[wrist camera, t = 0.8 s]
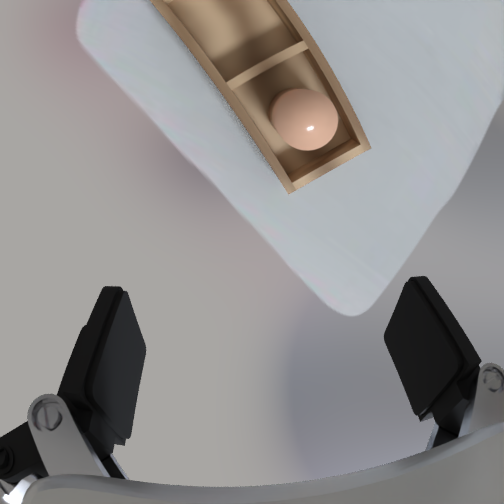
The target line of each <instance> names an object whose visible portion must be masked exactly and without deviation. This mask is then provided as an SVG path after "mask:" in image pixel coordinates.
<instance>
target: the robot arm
mask: <svg viewBox="0 0 504 504" xmlns="http://www.w3.org/2000/svg"><path fill="white" fill-rule="evenodd" d="M384 341H385V343H386V346H387V348H388V351H389V353H390V355H391V357H392V360H393V362H394V364H395V367H396V369H397V371H398V374H399V376H400V379H401V381H402V384H403V386H404V389H405V391H406V394H407V396H408V399H409V401H410V404H411V407H412V409H413V412H414V414H415V415H418V417H419V419H420V422H421V421H424V420H427V419H430V418H432V417H434V419H435V424H434V427H433V430H432V433H431V436H430V439H429V442H428V445H427V447H426V450H425V451H424V452H421V453H418V454H415V455H413V456H410V457H407V458H404V459H400V460H397V461H394V462H391V463H388V464H384V465H380V466H377V467H373V468H369V469H365V470H361V471H357V472H352V473H348V474H343V475H339V476H333V477H328V478H322V479H317V480H310V481H303V482H295V483H286V484H276V485H263V486H245V487H198V486H181V485H168V484H156V483H147V482H140V481H132V480H129V478H128V477H127V475H126V474H125V472H124V471H123V469H122V468H121V467H120V465H119V464H118V462H117V460H116V459H115V457H114V456H113V454H112V453H113V449H114V444H117V445H124V446H125V441H126V439H129V438H130V436H131V432H132V426H133V419H134V413H135V407H136V402H137V396H138V391H139V385H140V380H141V375H142V370H143V365H144V360H145V355H146V345H145V342H144V339H143V336H142V334H141V331H140V328H139V325H138V322H137V319H136V316H135V313H134V310H133V308H132V305H131V301H130V298H129V295H128V292H127V291H123V289H122V288H121V287H116V286H115V287H113V286H105V287H103V289H102V291H101V293H100V295H99V298H98V299H97V302H96V304H95V306H94V308H93V311H92V313H91V315H90V318H89V320H88V322H87V325H85V326H84V327H83V328H82V330H81V331H80V334H79V336H78V339H77V341H76V344H75V347H74V349H73V351H72V354H71V357H70V359H69V362H68V365H67V367H66V370H65V373H64V376H63V378H62V381H61V384H60V387H59V391H58V393H57V395H54V394H44V395H41V396H39V397H38V398H36V399H35V400H34V401H33V403H32V404H31V405H30V407H29V410H28V416H27V419H28V421H27V422H25V423H23V424H22V425H20V426H19V427H17V428H15V429H14V430H12V431H10V432H9V433H7V434H5V435H4V436H2V437H0V504H504V370H503V369H502V368H501V367H500V366H498V365H497V364H494V363H487V364H484V365H483V366H482V367H481V368H480V367H479V364H480V363H481V359H480V357H479V356H478V354H477V352H476V351H475V349H474V347H473V345H472V344H471V342H470V341H469V339H468V337H467V336H466V334H465V333H464V331H463V329H462V328H461V326H460V325H459V323H458V321H457V320H456V318H455V317H454V315H453V314H452V312H451V311H450V309H449V308H448V306H447V305H446V304H445V302H444V300H443V299H442V298H441V296H440V295H439V293H438V292H437V290H436V289H435V288H434V286H433V285H432V283H431V282H430V281H429V279H428V278H427V277H425V276H419V277H411V278H410V279H409V280H408V282H406V283H405V285H404V287H403V290H402V293H401V295H400V298H399V300H398V303H397V305H396V307H395V310H394V312H393V315H392V317H391V319H390V322H389V324H388V326H387V328H386V331H385V333H384Z"/></svg>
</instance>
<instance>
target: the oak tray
mask: <svg viewBox="0 0 504 504" xmlns="http://www.w3.org/2000/svg"><path fill="white" fill-rule="evenodd" d="M150 1H151V2H152V3H153V5H154V6H155V7H156V8H157V9H158V11H159V12H160V13H161V14H162V16H163V17H164V18H165V19H166V21H167V22H168V23H169V24H170V26H171V27H172V28H173V29H174V31H175V32H176V33H177V34H178V36H179V37H180V38H181V40H182V41H183V42H184V43H185V45H186V46H187V47H188V49H189V50H190V51H191V53H192V54H193V55H194V57H195V58H196V59H197V61H198V62H199V63H200V65H201V66H202V67H203V69H204V70H205V71H206V73H207V74H208V75H209V77H210V78H211V80H212V81H213V82H214V84H215V85H216V86H217V88H218V89H219V91H220V92H221V93H222V95H223V96H224V98H225V99H226V101H227V102H228V103H229V105H230V106H231V108H232V109H233V111H234V112H235V113H236V115H237V116H238V118H239V119H240V121H241V122H242V124H243V125H244V127H245V128H246V130H247V131H248V132H249V134H250V135H251V137H252V138H253V140H254V141H255V143H256V144H257V146H258V148H259V149H260V151H261V152H262V154H263V155H264V157H265V158H266V160H267V161H268V163H269V164H270V166H271V167H272V169H273V171H274V172H275V174H276V175H277V177H278V178H279V180H280V182H281V183H282V185H283V186H284V188H285V190H286V191H287V193H288V194H290V193H292V192H294V191H296V190H297V189H299V188H301V187H303V186H304V185H306V184H308V183H310V182H311V181H313V180H315V179H317V178H318V177H320V176H322V175H324V174H325V173H327V172H329V171H331V170H333V169H334V168H336V167H338V166H340V165H342V164H343V163H345V162H347V161H349V160H351V159H352V158H354V157H356V156H358V155H360V154H361V153H363V152H365V151H367V150H369V149H371V146H370V144H369V142H368V139H367V137H366V135H365V133H364V131H363V129H362V126H361V124H360V122H359V120H358V118H357V116H356V114H355V112H354V110H353V108H352V106H351V104H350V102H349V100H348V98H347V96H346V94H345V92H344V91H343V89H342V87H341V85H340V83H339V81H338V80H337V78H336V76H335V74H334V72H333V71H332V69H331V67H330V65H329V64H328V62H327V60H326V59H325V57H324V55H323V54H322V52H321V50H320V49H319V47H318V46H317V44H316V42H315V41H314V39H313V38H312V36H311V35H310V33H309V31H308V30H307V28H306V27H305V25H304V24H303V22H302V21H301V20H300V18H299V17H298V15H297V14H296V12H295V11H294V10H293V8H292V7H291V5H290V4H289V3H288V1H287V0H150ZM288 88H302V89H308V90H313V91H317V92H320V93H322V94H323V95H325V96H326V97H327V98H329V99H330V101H331V102H332V103H333V105H334V106H335V108H336V111H337V115H338V126H337V130H336V132H335V134H334V136H333V137H332V139H331V140H330V141H329V142H328V143H327V144H326V145H324V146H323V147H320V148H318V149H315V150H299V149H296V148H294V147H292V146H290V145H289V144H288V143H286V142H285V141H284V140H283V139H282V137H281V136H280V135H279V134H278V133H277V131H276V130H275V129H274V128H273V126H272V125H271V123H270V120H269V115H268V110H269V105H270V103H271V101H272V99H273V98H274V96H275V95H276V94H278V93H279V92H280V91H282V90H284V89H288Z"/></svg>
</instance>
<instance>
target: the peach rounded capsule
mask: <svg viewBox="0 0 504 504" xmlns="http://www.w3.org/2000/svg"><path fill="white" fill-rule="evenodd" d="M268 115H269V120H270V123H271V125H272V126H273V128H274V129H275V130H276V131H277V133H278V134H279V135H280V136H281V137H282V139H283V140H284V141H285V142H286V143H288V144H289V145H290V146H292V147H294V148H296V149H299V150H315V149H318V148H320V147H323V146H324V145H326V144H327V143H328V142H329V141H330V140H331V139H332V137H333V136H334V134H335V132H336V130H337V126H338V115H337V111H336V108H335V106H334V105H333V103H332V102H331V101H330V99H329V98H327V97H326V96H325V95H323V94H322V93H320V92H317V91H313V90H308V89H302V88H288V89H284V90H282V91H280V92H279V93H278V94H276V95H275V96H274V98H273V99H272V101H271V103H270V105H269V110H268Z"/></svg>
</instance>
